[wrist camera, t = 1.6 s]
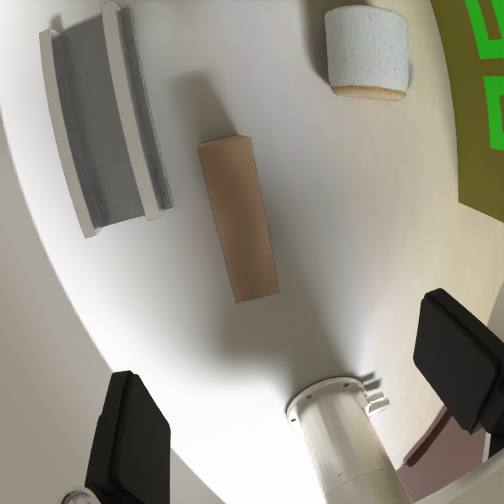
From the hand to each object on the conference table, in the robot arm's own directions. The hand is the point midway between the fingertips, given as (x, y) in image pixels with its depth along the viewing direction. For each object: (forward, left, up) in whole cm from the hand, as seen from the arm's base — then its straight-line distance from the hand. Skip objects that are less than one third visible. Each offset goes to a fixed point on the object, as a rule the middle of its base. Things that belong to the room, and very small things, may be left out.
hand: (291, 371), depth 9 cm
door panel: (0, 0, -22) cm, 22 cm away
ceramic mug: (-16, -12, -23) cm, 30 cm away
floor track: (+10, -11, -22) cm, 27 cm away
